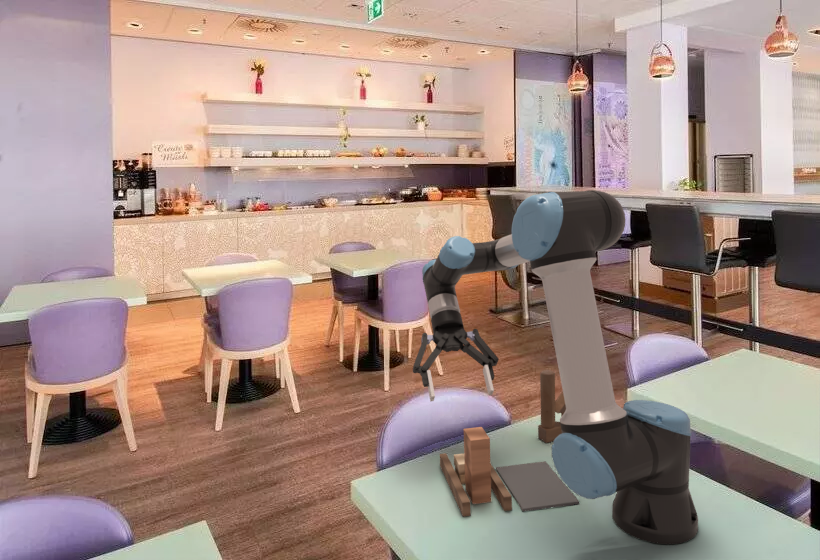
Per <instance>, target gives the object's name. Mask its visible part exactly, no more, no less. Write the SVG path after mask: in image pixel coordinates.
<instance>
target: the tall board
mask: <svg viewBox="0 0 820 560" xmlns="http://www.w3.org/2000/svg"><path fill="white" fill-rule="evenodd" d="M462 431H463V453H464V460H465V484H464V485H465V488H464V490H465V492H466V494H467V496H468V498H469V500H470V503H471V504H472V505H478V504H486V503H492V489H491V466H490V463H491V439H490V437H489V435H488V434H487V432H486V431H485V428H483V427H482V426H478V427H477V426H476V427H468V428H463V430H462Z"/></svg>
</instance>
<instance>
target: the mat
mask: <svg viewBox="0 0 820 560" xmlns="http://www.w3.org/2000/svg"><path fill="white" fill-rule="evenodd" d="M551 467H552V466H550V465H549V464H548V463H547V461H544V460H542V461H538V462H537V461H535V462H530V463H529V462H527V463H518V464H512V465H504V466H496V467H495V471H496V472H497V474H498V476H499V477H500V479H501V480H502V482H503V483H504V485H505V487H506V488H507V490H508V491H509V493H510V494H511V496H512V497H513V499H514V500H515V501H516V504H517V505H518V507H519V508H520V510H521V511H522V512H530V511H537V510H538V511H539V510H545V508H546V509H552V508H551V507H553V508H560V507H567V506H573V505H574V504H575V505H579V504H580V500H579V499H578V498H577V496H575V494H574V493H573V491H572V490H571V489H570V488H569V487H568V486H567V484H566V483H565V482H564V481H563V480H562V479H561V477H560V476H558V473H557V474H556V472H555V471H554V470H553V468H551ZM575 505H574V506H575Z"/></svg>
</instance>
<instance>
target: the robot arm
mask: <svg viewBox="0 0 820 560" xmlns="http://www.w3.org/2000/svg"><path fill="white" fill-rule="evenodd" d="M626 219H627V218H626V213H625V211H624V208H623V206H622V205H621V203H620V202H619V201H618V199H616V197H614V196H612V195H611V194H610V193H607V192H605V191H602V190H596V189H595V190H594V189H593V190H589V189H588V190H580V191H579V190H576V191H575V190H574V191H548V192H544V193H537V194H533V195H530V196H528V197H526V198H525V199H524V200H523V201H522V202H521V203H520V205H519V206H518V207H517V209H516V213H515V214H514V215H513V220H512V224H511V234H508V235H505V236H502V237H501V238H497V239H495V240H494V239H493V240H489V241H482V242H472V241H471V240H470V239H468V238H467V237H462V236H461V235H454V236H451V237H449V238H448V239H447V240H446V242H445V243H444V244H443V246H442V247H441V249H439V250H440V251H439V253H438V255H437V258H436V259H435V258H434V259H431V260H429V261H428V263H425V264H424V265H423V267H422V269H421V270H422V271H421V272H422V274H421V275H422V282H423V286H424V292H425V296H426V300H427V306H428V311H429V317H430V322H431V328H432V332H433V333H432V334H428V333H426V332H423V333H422V335H421V342H420V343H421V344H420V347H419V350H418V352H417V354H416V358H415V360H414V363H413V367H412V373H413V374H419V375H420V376H421V382H422V386H423V387H424V388H427V389H428V396H429V401H430V402H434V401H435V398H436V394H435V389H434V388H435V387H434V384H433V378H432V373H431V369H430V368H431V366H432V365H433V364H434V362H435V361H436V359H437V358H438V357H439V356H440V354H441V353H442V351H444V352H446V353H449V352H459V351H462V352H463V353H465V354H467V355H468V356H469V357H471V358H472V359H473V360H475V361H476V362H477V363H478V364H479V365H481V366H482V367H483V368H482V374H483V378H484V383H485V386H486V387H485V388H486V389H487V396H492V395H493V393H494V391H495V387H494V386H493V381H494V379H495V372H494V367H496V366H497V364H498V363H499V357H498V355H496V353H495V352H494V351H493V350H492V349H491V348H490V347H489V345H488V344H487V343H486V342H485V340H484V339H483V338H482V337H481V335H480V333H479V329H477V328H474V329H473V330H472V331H466V330H465V326H464V323H463V319H462V315H461V309H460V304H459V301H458V296H457V291H456V285H457V284H458V283H459V282H460V280H461V278H462V277H463V276H465V275H466V276H467V275H472V274H479V273H480V274H481V273H487V272H496V271H508V270H511V269H515V268H517V267H518V266H520V265H523V264H526V263H529V264H530V269H531V272H532V273H533V274H535V275H536V276H538V277H539V278H540V279H541V281H542V286H543V292H544V297H545V304H546V307H547V314H548V319H549V323H550V330H551V335H552V340H553V346H554V352H555V356H556V361H557V366H558V372H559V377H560V382H561V388H562V391H563V394H564V400H565V405H566V411H565V412H564V414H563V415H562V417H560V418H559V422H560V425H561V431H562V434H560V435H559V436H557V437H556V438H555V440H554V441H552V442H553V444H552V445H551V457H552V461H553V464H554V467H555V469H556V472H557V475H559V476H558V477H559V478H560V479H561V480H562V482H563V483H564V484H565V485H566V486H567V487H568V489H569V490H570V491H571V492H572V493H573V492H574V493H575V494H576V495H578V496H580V497H581V498H584V499H588V500H593V499H594V500H595V499H598V498H602V497H610V496H612V495H614V494H615V493H616V495H615V497H614V500H613V501H612V506H611V508H612V510H611V512H612V513H611V514H612V516H611V517H612V519H613V522H614V524H615V525H616V526H617V527H618V528H619V529H620V530H621V531H623V532H624V533H625V534H627V535H629V536H631V537H633V538H636V539H639V540H641V541H643V542H648V543H652V544H659V545H678V544H682V543H685V542H688V541H691V540H692V539H694V538H695V537H696V535H697V533H698V530H699V529H698V528H699V527H698V526H699V516H698V513H697V510H696V506H695V504H694V500H693V498H692V494H691V491H690V488H689V487H690V465H691V464H690V461H691V459H690V458H691V438H692V431H691V430H692V429H691V418H690V417H689V415H688V414H687V412H685V411H684V410H683V409H681V408H678V407H676V406H675V405H671V404H667V403H664V402H659V401H654V400H646V399H633V400H628V401H625V403H624V404H623V407H621V406H620V405H618V403H616V398H615V392H614V388H613V383H612V379H611V378H612V376H611V372H610V368H609V363H608V356H607V352H606V347H605V341H604V336H603V332H602V327H601V321H600V315H599V311H598V306H597V299H596V296H595V295H596V294H595V290H594V285H593V281H592V280H593V279H592V276H591V269H592V267H593V266H594V264H595V263H596V261H597V260H598V259H597V256H596V255H597V254H596V252H600V251H603V250H606V249H609V248H610V247H612V246H613V245H615V244H616V243H617V242H618V241H619V239H620V238H621V237H622V235H623V233H624V231H625V228H626ZM467 339H469V340H470V341H471V342H473V344H474V345H475V347H474V346H473V345H472V344H471V343H470V341H468V340H467ZM431 342H433V343H434V344H435V347H434V349H433V350H432V352H431V353H430V355H428V358H426V360H425V362H423V364H422V360H423V357H424V355H425V353H426V350H427V345H429V344H431ZM476 347H477V348H478V349H479V350H478V349H477V348H476ZM421 364H422V365H421Z"/></svg>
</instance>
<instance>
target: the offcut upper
mask: <svg viewBox="0 0 820 560" xmlns="http://www.w3.org/2000/svg"><path fill="white" fill-rule="evenodd" d="M453 465H454V466H453V467H454V469H455V468H456V470H457V472H458V474H459V475H465V460H464V452H463V453H457V454H453Z"/></svg>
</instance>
